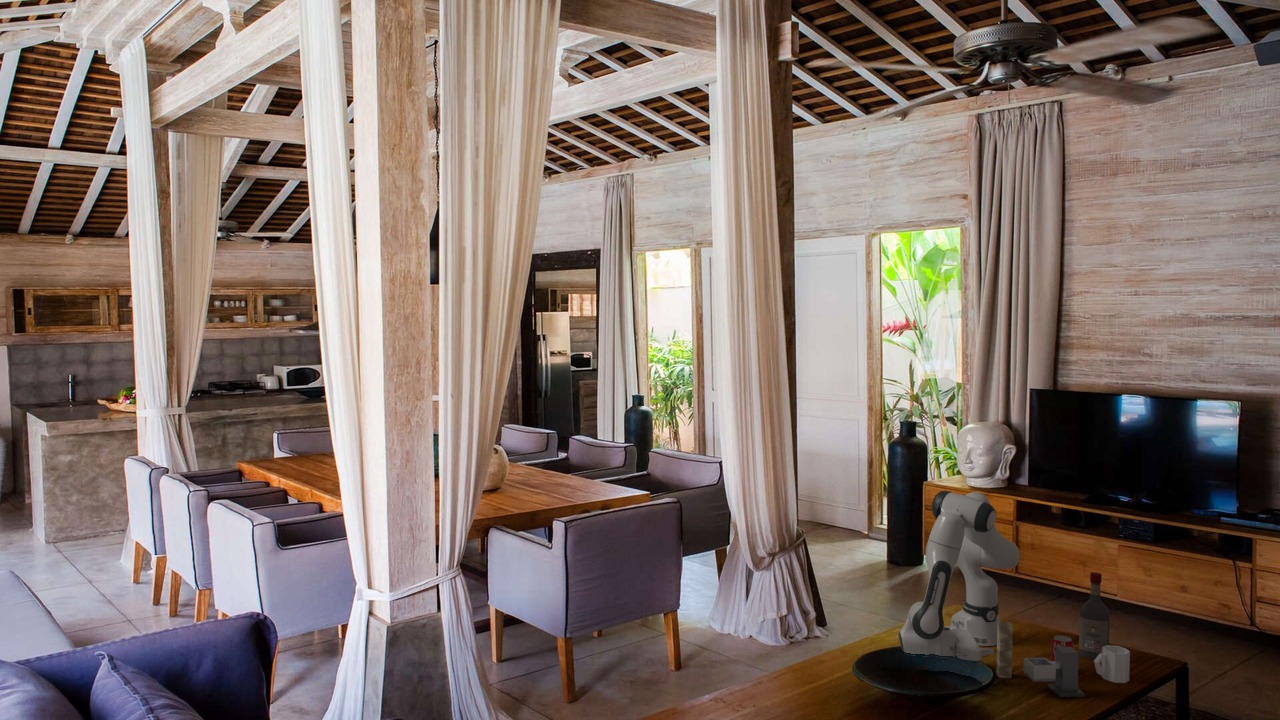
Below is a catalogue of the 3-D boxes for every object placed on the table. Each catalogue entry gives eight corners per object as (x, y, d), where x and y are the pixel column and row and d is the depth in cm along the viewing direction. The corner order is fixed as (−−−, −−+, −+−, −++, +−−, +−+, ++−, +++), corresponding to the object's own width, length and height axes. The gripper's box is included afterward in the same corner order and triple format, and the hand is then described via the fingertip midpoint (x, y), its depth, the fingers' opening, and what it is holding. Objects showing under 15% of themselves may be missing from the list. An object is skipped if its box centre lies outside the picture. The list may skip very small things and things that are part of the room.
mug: (1116, 672, 324) (1117, 644, 324) (1135, 682, 316) (1135, 653, 315) (1086, 675, 321) (1087, 647, 321) (1104, 685, 313) (1105, 656, 312)
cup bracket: (1033, 697, 303) (1034, 654, 302) (1022, 687, 311) (1023, 645, 310) (1084, 696, 304) (1085, 654, 303) (1072, 686, 312) (1073, 645, 311)
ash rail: (999, 677, 319) (1000, 625, 318) (996, 673, 323) (997, 621, 322) (1011, 678, 319) (1012, 625, 318) (1008, 673, 323) (1009, 621, 322)
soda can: (1075, 677, 320) (1076, 642, 319) (1053, 675, 321) (1054, 640, 321) (1070, 669, 327) (1071, 635, 326) (1048, 667, 328) (1049, 633, 327)
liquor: (1106, 662, 333) (1108, 578, 332) (1078, 657, 338) (1080, 574, 336) (1109, 654, 341) (1111, 572, 339) (1081, 649, 346) (1083, 568, 344)
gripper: (953, 645, 313) (997, 648, 311) (943, 625, 333) (983, 627, 331) (953, 664, 313) (997, 666, 311) (942, 642, 333) (983, 644, 331)
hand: (990, 646), depth 321 cm, fingers open, 8 cm apart
